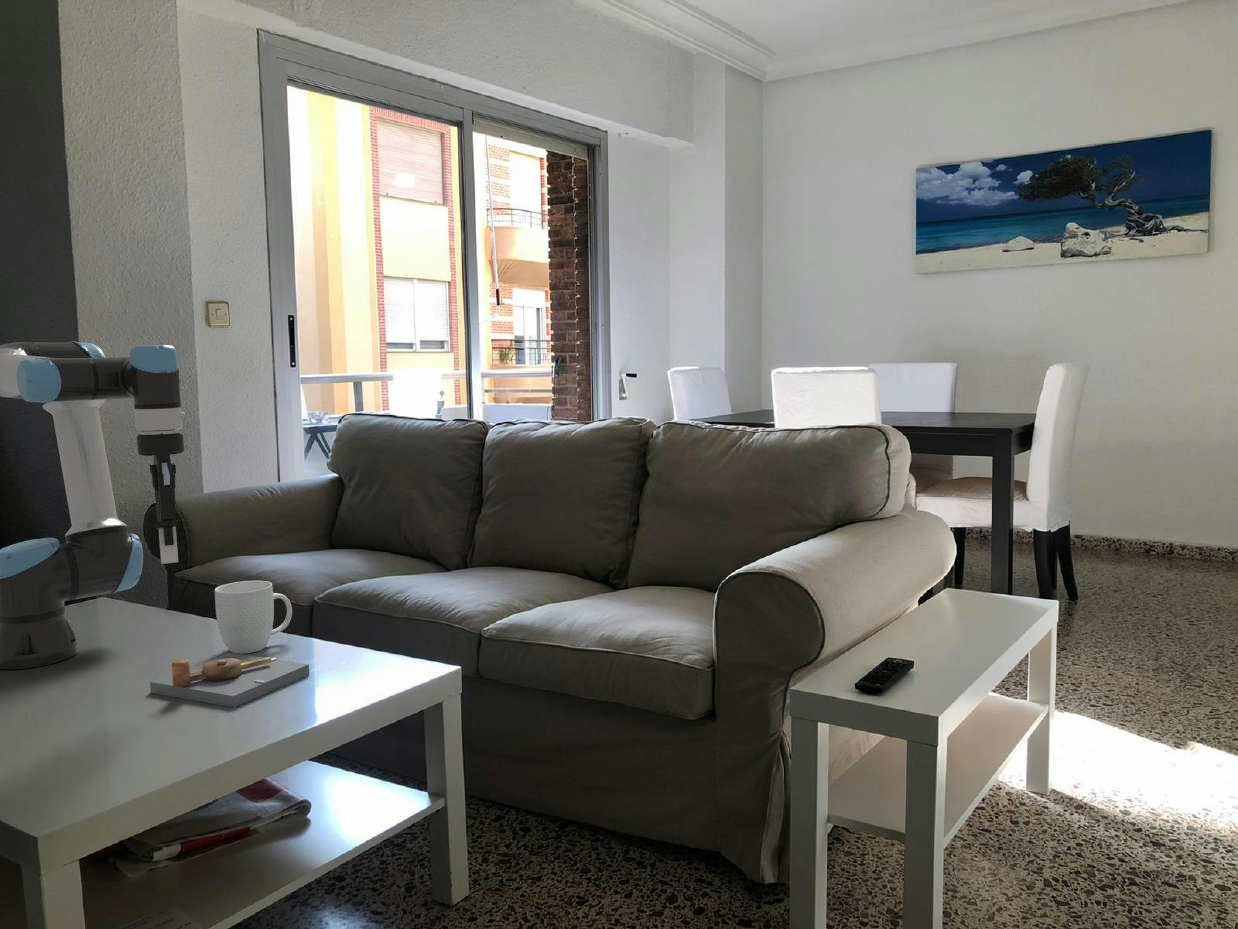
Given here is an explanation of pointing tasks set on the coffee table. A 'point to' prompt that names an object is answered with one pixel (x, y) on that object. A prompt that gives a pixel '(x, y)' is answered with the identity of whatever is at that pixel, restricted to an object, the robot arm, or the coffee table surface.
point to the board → (234, 682)
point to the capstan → (211, 670)
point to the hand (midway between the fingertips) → (169, 562)
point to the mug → (248, 615)
